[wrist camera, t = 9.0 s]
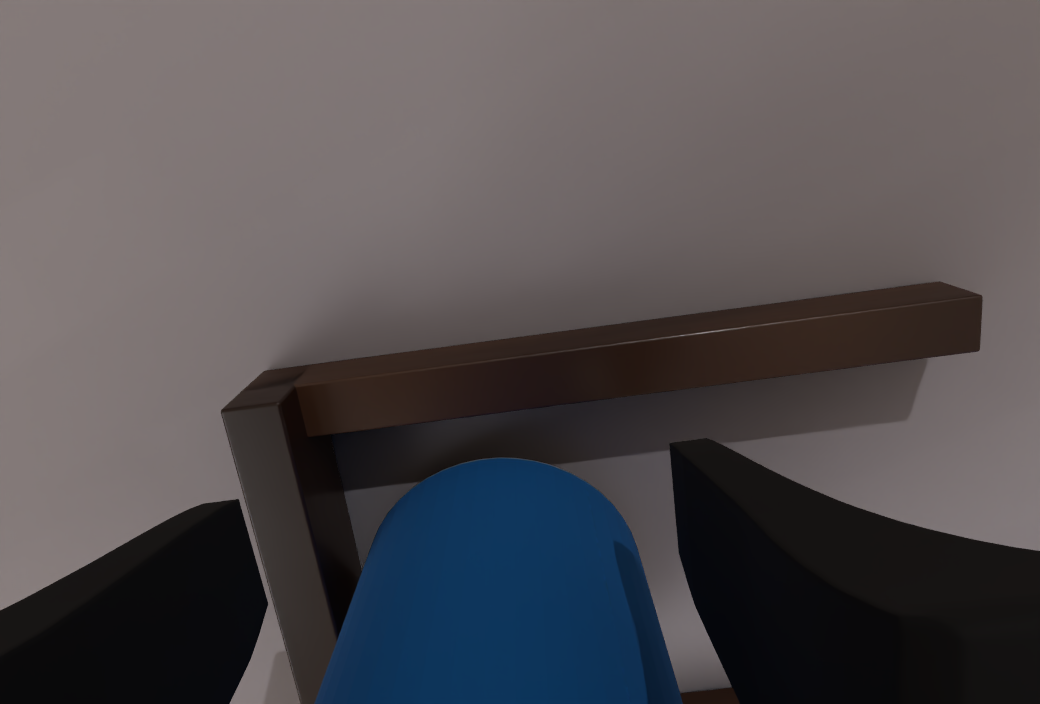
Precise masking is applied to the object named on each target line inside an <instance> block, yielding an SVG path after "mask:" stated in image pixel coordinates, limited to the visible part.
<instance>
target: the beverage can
mask: <svg viewBox="0 0 1040 704" xmlns="http://www.w3.org/2000/svg"><path fill="white" fill-rule="evenodd" d="M314 704H683V702H682V699H681V695H680V692H679V689H678V685H677V682H676V678H675V675H674V672H673V668H672V665H671V661H670V658H669V655H668V651H667V648H666V644H665V641H664V638H663V634H662V631H661V627H660V624H659V621H658V617H657V614H656V610H655V607H654V604H653V600H652V597H651V593H650V590H649V587H648V583H647V580H646V576H645V573H644V570H643V566H642V563H641V559H640V556H639V553H638V549H637V546H636V544H635V541H634V538H633V536H632V533H631V531H630V529H629V528H628V526H627V524H626V522H625V520H624V519H623V517H622V516H621V515H620V513H619V512H618V511H617V509H616V508H615V507H614V505H613V504H612V503H611V502H610V501H609V500H608V499H607V498H606V497H605V496H604V495H603V494H602V493H601V492H599V491H598V490H597V489H595V488H594V487H593V486H591V485H590V484H589V483H587V482H586V481H584V480H583V479H581V478H579V477H577V476H576V475H574V474H572V473H570V472H568V471H565V470H563V469H561V468H558V467H556V466H553V465H550V464H546V463H542V462H538V461H534V460H527V459H520V458H488V459H478V460H474V461H469V462H465V463H461V464H458V465H455V466H452V467H449V468H447V469H444V470H442V471H440V472H438V473H436V474H434V475H432V476H430V477H428V478H426V479H425V480H423V481H422V482H420V483H419V484H417V485H416V486H414V487H413V488H412V489H411V490H410V491H409V492H407V493H406V494H405V495H404V496H403V497H402V498H401V499H400V500H399V501H398V502H397V503H396V504H395V505H394V507H393V508H392V509H391V510H390V511H389V512H388V514H387V516H386V517H385V519H384V520H383V522H382V524H381V525H380V527H379V529H378V531H377V533H376V536H375V538H374V540H373V543H372V546H371V548H370V551H369V554H368V557H367V559H366V562H365V565H364V568H363V570H362V573H361V576H360V579H359V582H358V584H357V587H356V590H355V593H354V595H353V598H352V601H351V604H350V606H349V609H348V612H347V615H346V617H345V620H344V623H343V626H342V629H341V631H340V634H339V637H338V640H337V642H336V645H335V648H334V651H333V653H332V656H331V659H330V662H329V665H328V667H327V670H326V673H325V676H324V678H323V681H322V684H321V687H320V689H319V692H318V695H317V698H316V701H315V703H314Z"/></svg>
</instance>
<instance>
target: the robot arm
mask: <svg viewBox="0 0 1040 704" xmlns="http://www.w3.org/2000/svg"><path fill="white" fill-rule="evenodd" d="M669 445H670V456H671V468H672V479H673V491H674V503H675V514H676V526H677V537H678V549H679V555H680V558H681V562H682V565H683V568H684V572H685V575H686V579H687V582H688V585H689V588H690V591H691V595H692V598H693V601H694V604H695V606H696V609H697V611H698V613H699V615H700V618H701V620H702V622H703V624H704V626H705V629H706V631H707V633H708V635H709V637H710V640H711V642H712V644H713V646H714V648H715V651H716V653H717V655H718V657H719V659H720V661H721V664H722V666H723V668H724V670H725V672H726V674H727V677H728V679H729V681H730V683H731V685H732V687H733V690H734V692H735V694H736V696H737V698H738V700H739V703H740V704H1040V551H1035V550H1029V549H1022V548H1016V547H1009V546H1004V545H999V544H994V543H988V542H983V541H978V540H973V539H968V538H964V537H960V536H956V535H951V534H947V533H943V532H939V531H934V530H930V529H926V528H922V527H918V526H915V525H911V524H907V523H904V522H900V521H897V520H894V519H891V518H888V517H885V516H881V515H878V514H875V513H872V512H869V511H866V510H863V509H860V508H857V507H854V506H852V505H849V504H846V503H844V502H841V501H838V500H836V499H833V498H831V497H829V496H826V495H824V494H822V493H819V492H817V491H814V490H812V489H810V488H807V487H805V486H803V485H801V484H799V483H796V482H794V481H792V480H790V479H788V478H786V477H784V476H782V475H780V474H777V473H775V472H774V471H772V470H770V469H768V468H766V467H764V466H762V465H760V464H758V463H756V462H754V461H752V460H750V459H748V458H746V457H744V456H743V455H741V454H739V453H737V452H735V451H733V450H731V449H729V448H727V447H725V446H723V445H721V444H719V443H717V442H715V441H713V440H710V439H708V438H705V439H697V440H689V441H682V442H674V443H669ZM267 606H268V602H267V598H266V595H265V591H264V587H263V584H262V580H261V577H260V573H259V570H258V566H257V563H256V559H255V556H254V552H253V548H252V545H251V541H250V538H249V534H248V531H247V527H246V524H245V520H244V517H243V513H242V509H241V506H240V502H239V499H236V500H229V501H221V502H213V503H206V504H201V505H199V506H196V507H193V508H191V509H189V510H186V511H184V512H182V513H180V514H178V515H176V516H174V517H172V518H170V519H168V520H166V521H164V522H163V523H161V524H159V525H157V526H155V527H153V528H152V529H150V530H148V531H146V532H145V533H143V534H141V535H139V536H137V537H136V538H134V539H132V540H130V541H129V542H127V543H125V544H123V545H122V546H120V547H118V548H116V549H114V550H113V551H111V552H109V553H107V554H106V555H104V556H102V557H100V558H99V559H97V560H95V561H93V562H92V563H90V564H88V565H86V566H84V567H82V568H81V569H79V570H77V571H75V572H73V573H71V574H69V575H68V576H66V577H64V578H62V579H60V580H58V581H56V582H54V583H53V584H51V585H49V586H47V587H45V588H43V589H41V590H40V591H38V592H36V593H34V594H32V595H30V596H28V597H27V598H25V599H23V600H21V601H19V602H17V603H15V604H13V605H11V606H9V607H7V608H5V609H3V610H1V611H0V704H229V703H230V701H231V699H232V697H233V695H234V693H235V691H236V689H237V687H238V685H239V683H240V681H241V678H242V676H243V674H244V672H245V670H246V668H247V666H248V663H249V661H250V659H251V657H252V654H253V651H254V648H255V645H256V642H257V639H258V636H259V633H260V630H261V626H262V623H263V619H264V616H265V613H266V609H267Z"/></svg>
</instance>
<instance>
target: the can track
mask: <svg viewBox="0 0 1040 704" xmlns="http://www.w3.org/2000/svg"><path fill="white" fill-rule="evenodd" d="M982 298H983V297H982V295H979V294H976V293H973V292H970V291H967V290H964V289H961V288H958V287H955V286H952V285H949V284H946V283H943V282H932V283H925V284H917V285H910V286H902V287H895V288H887V289H879V290H872V291H864V292H857V293H849V294H842V295H834V296H826V297H819V298H811V299H804V300H796V301H789V302H781V303H774V304H766V305H758V306H751V307H743V308H736V309H728V310H721V311H713V312H705V313H698V314H690V315H683V316H675V317H668V318H660V319H652V320H645V321H637V322H630V323H622V324H615V325H607V326H600V327H592V328H584V329H577V330H569V331H562V332H554V333H547V334H539V335H531V336H524V337H516V338H509V339H501V340H494V341H486V342H479V343H471V344H463V345H456V346H448V347H441V348H433V349H426V350H418V351H410V352H403V353H395V354H388V355H380V356H373V357H365V358H358V359H350V360H342V361H335V362H327V363H320V364H312V365H305V366H297V367H289V368H282V369H274V370H267V371H264V372H262V373H261V374H260V375H259V376H258V377H257V378H256V379H255V380H254V381H252V382H251V383H250V384H249V385H248V386H247V387H246V388H245V389H244V390H243V391H241V392H240V394H238V395H237V396H236V397H235V398H234V399H233V400H232V401H231V402H230V403H229V404H227V405H226V406H225V407H224V408H223V409H222V410H221V414H222V418H223V422H224V425H225V429H226V433H227V436H228V440H229V444H230V447H231V451H232V455H233V458H234V462H235V465H236V469H237V473H238V476H239V480H240V484H241V487H242V491H243V495H244V498H245V502H246V506H247V509H248V513H249V517H250V520H251V524H252V527H253V531H254V535H255V538H256V542H257V546H258V549H259V553H260V557H261V560H262V564H263V568H264V571H265V575H266V578H267V582H268V586H269V589H270V593H271V597H272V600H273V604H274V608H275V611H276V615H277V619H278V622H279V626H280V630H281V633H282V637H283V640H284V644H285V648H286V651H287V655H288V659H289V662H290V666H291V670H292V673H293V677H294V681H295V684H296V688H297V691H298V695H299V699H300V702H301V704H314V703H315V701H316V698H317V695H318V692H319V689H320V687H321V684H322V681H323V678H324V676H325V673H326V670H327V667H328V665H329V662H330V659H331V656H332V653H333V651H334V648H335V645H336V642H337V640H338V637H339V634H340V631H341V629H342V626H343V623H344V620H345V617H346V615H347V612H348V609H349V606H350V604H351V601H352V598H353V595H354V593H355V590H356V587H357V584H358V582H359V579H360V576H361V573H362V570H361V565H360V561H359V557H358V552H357V548H356V544H355V539H354V535H353V531H352V526H351V522H350V517H349V513H348V509H347V504H346V500H345V496H344V491H343V487H342V483H341V478H340V474H339V470H338V465H337V461H336V456H335V452H334V448H333V443H332V439H331V435H332V434H340V433H348V432H355V431H363V430H371V429H379V428H386V427H394V426H402V425H410V424H418V423H425V422H433V421H441V420H449V419H456V418H464V417H472V416H480V415H488V414H495V413H503V412H511V411H519V410H526V409H534V408H542V407H550V406H557V405H565V404H573V403H581V402H589V401H596V400H604V399H612V398H620V397H627V396H635V395H643V394H651V393H659V392H666V391H674V390H682V389H690V388H697V387H705V386H713V385H721V384H729V383H736V382H744V381H752V380H760V379H767V378H775V377H783V376H791V375H799V374H806V373H814V372H822V371H830V370H837V369H845V368H853V367H861V366H868V365H876V364H884V363H892V362H900V361H907V360H915V359H923V358H931V357H938V356H946V355H954V354H962V353H970V352H977V351H979V350H980V337H981V318H982ZM680 695H681V699H682V702H683V704H740V703H739V700H738V698H737V696H736V694H735V692H734V690H733V687H732V688H723V689H714V690H706V691H697V692H688V693H680Z"/></svg>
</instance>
